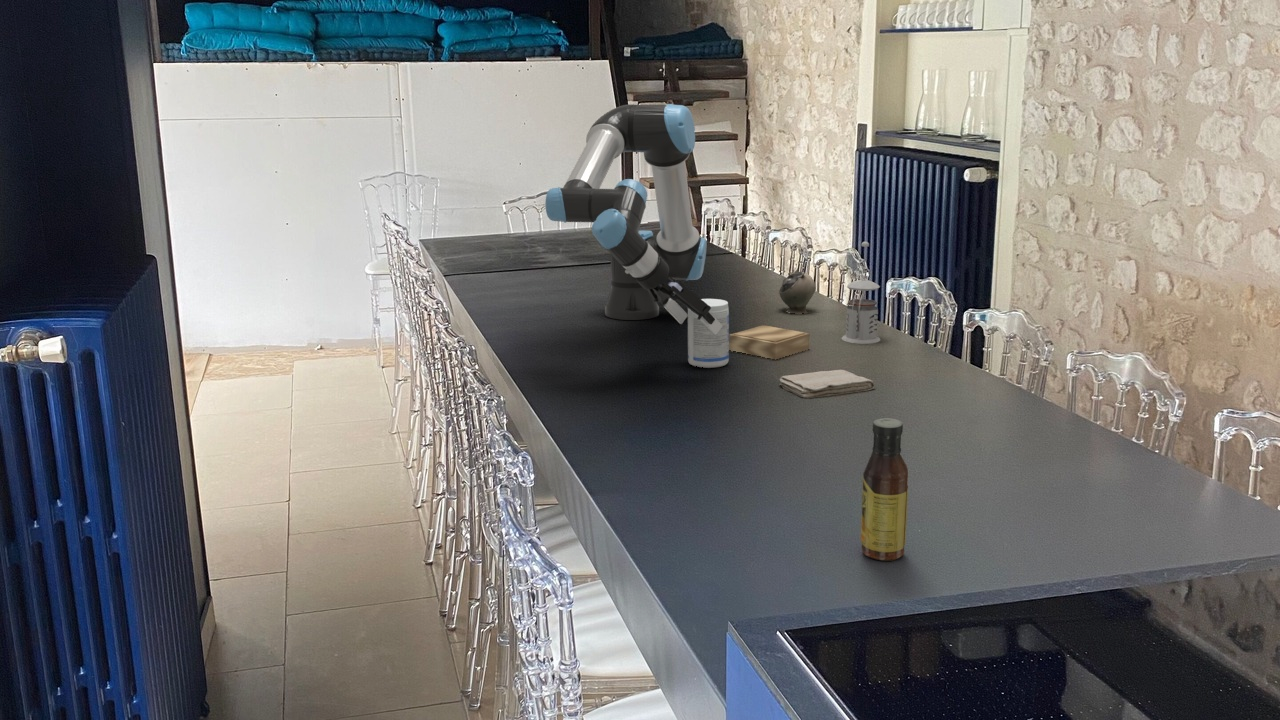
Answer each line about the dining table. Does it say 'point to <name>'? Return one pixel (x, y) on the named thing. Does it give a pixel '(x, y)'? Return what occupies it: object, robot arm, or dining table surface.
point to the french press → (861, 313)
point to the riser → (769, 342)
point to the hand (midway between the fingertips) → (700, 324)
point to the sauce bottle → (885, 494)
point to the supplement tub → (709, 337)
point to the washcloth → (825, 383)
